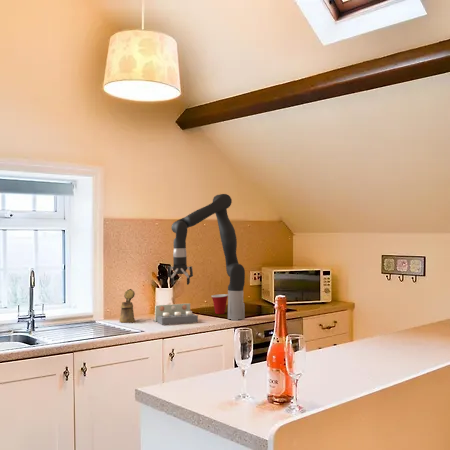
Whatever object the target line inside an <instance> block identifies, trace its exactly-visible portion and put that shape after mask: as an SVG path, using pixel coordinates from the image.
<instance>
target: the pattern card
mask: <svg viewBox="0 0 450 450" xmlns="http://www.w3.org/2000/svg"><path fill="white" fill-rule="evenodd" d="M154 307H155V308H154V309H155V310H154V319H153V320H152V322H154V323H157V316H163V313H169V315H175V312H181V314H186V311H191V303H175V304H159V305H157V304H156V305H155V306H154Z"/></svg>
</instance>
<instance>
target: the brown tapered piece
mask: <svg viewBox="0 0 450 450" xmlns="http://www.w3.org/2000/svg"><path fill="white" fill-rule="evenodd" d="M135 295H136V293H135V291H134V290H133V289H132V288H130V289H127V290H126V291H125V292H124V296H123V297H124V299H126V301H122V302H121V306H120V315H119V323H124V324H129V323H130V324H131V323H135V322H136V319H135V313H134V304H133V302H131V300H132V299H133V298H135Z"/></svg>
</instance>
